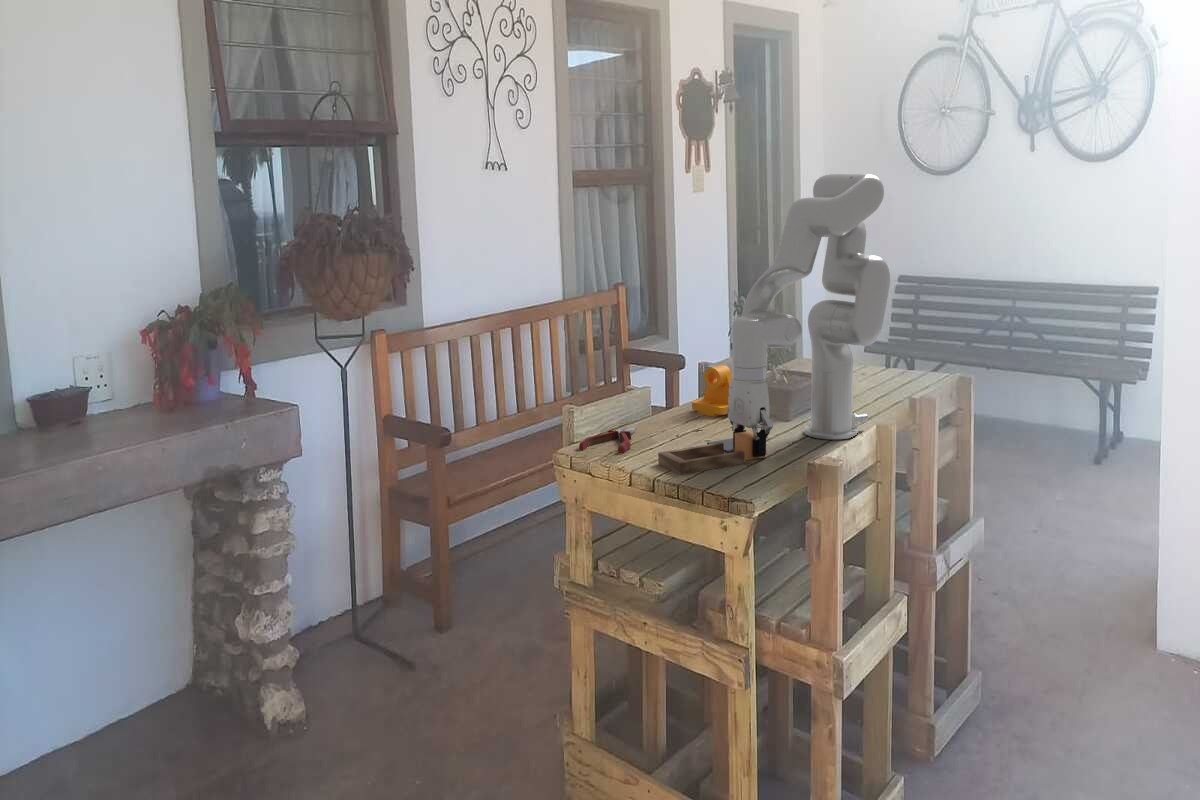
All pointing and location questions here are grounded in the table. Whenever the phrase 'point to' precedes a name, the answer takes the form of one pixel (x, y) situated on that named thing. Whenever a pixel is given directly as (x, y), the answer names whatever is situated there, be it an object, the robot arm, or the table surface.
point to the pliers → (611, 435)
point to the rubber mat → (726, 445)
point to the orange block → (745, 444)
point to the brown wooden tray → (699, 458)
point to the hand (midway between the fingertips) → (749, 451)
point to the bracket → (715, 392)
